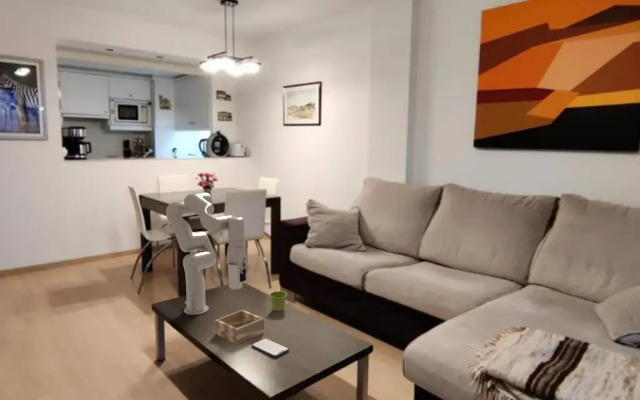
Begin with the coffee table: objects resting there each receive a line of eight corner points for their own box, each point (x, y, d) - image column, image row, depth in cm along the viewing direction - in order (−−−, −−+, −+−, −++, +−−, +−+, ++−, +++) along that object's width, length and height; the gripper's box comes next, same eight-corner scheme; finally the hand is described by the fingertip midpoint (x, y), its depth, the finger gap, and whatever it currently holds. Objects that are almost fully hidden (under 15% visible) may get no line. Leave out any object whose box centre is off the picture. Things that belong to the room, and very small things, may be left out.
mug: (232, 290, 197) (231, 265, 196) (226, 286, 203) (225, 262, 201) (251, 286, 203) (250, 262, 201) (245, 282, 208) (245, 259, 207)
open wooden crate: (215, 334, 198) (215, 320, 197) (242, 323, 210) (242, 309, 209) (237, 344, 188) (237, 329, 187) (264, 332, 200) (263, 318, 199)
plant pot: (290, 308, 228) (290, 293, 227) (279, 314, 221) (279, 298, 219) (277, 304, 233) (276, 289, 232) (266, 310, 226) (265, 295, 224)
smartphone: (250, 348, 186) (274, 359, 176) (250, 344, 186) (274, 356, 176) (265, 341, 193) (290, 352, 182) (265, 337, 193) (290, 348, 182)
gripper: (218, 242, 203) (220, 278, 205) (242, 247, 192) (244, 285, 194) (231, 239, 208) (232, 274, 211) (255, 244, 198) (256, 281, 200)
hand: (238, 279), depth 202 cm, fingers closed on mug, 6 cm apart
